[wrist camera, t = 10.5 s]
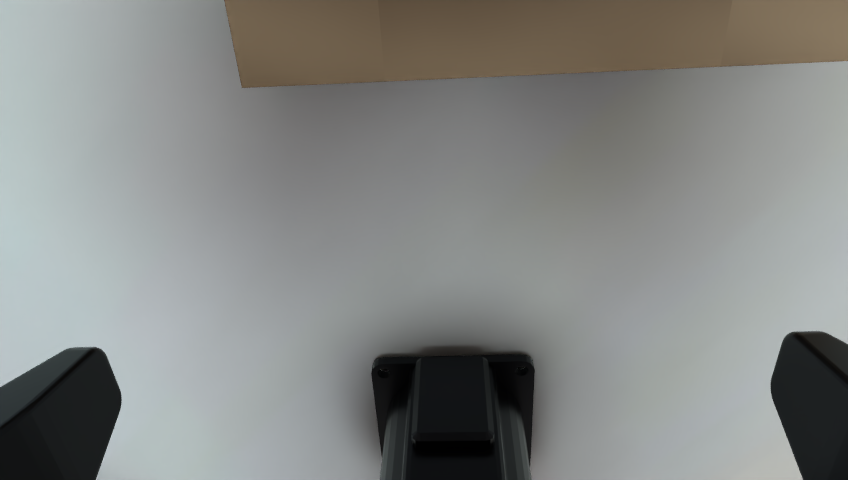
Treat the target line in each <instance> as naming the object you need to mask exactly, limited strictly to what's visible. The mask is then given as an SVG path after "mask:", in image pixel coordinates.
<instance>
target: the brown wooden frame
mask: <svg viewBox="0 0 848 480" xmlns="http://www.w3.org/2000/svg"><path fill="white" fill-rule="evenodd" d="M224 1H225V6H226V11H227V16H228V21H229V26H230V31H231V36H232V41H233V46H234V51H235V56H236V61H237V66H238V71H239V76H240V81H241V85H242V88H250V87H272V86H295V85H317V84H340V83H362V82H385V81H407V80H430V79H452V78H474V77H497V76H519V75H542V74H564V73H587V72H609V71H632V70H654V69H677V68H699V67H722V66H744V65H767V64H789V63H812V62H834V61H848V0H224Z"/></svg>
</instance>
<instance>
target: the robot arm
mask: <svg viewBox="0 0 848 480" xmlns="http://www.w3.org/2000/svg"><path fill="white" fill-rule="evenodd" d="M520 366H525V368H523V369H517V368H518V367H520ZM380 369H387V370H389V371H386V372H384V371H381V370H380ZM534 373H535V370H534V365H533V360H532V359H531V358H530V357H529V356H527V355H474V356H424V357H383V358H378V359H377V360H375V361H374V363H373V367H372V382H373V390H374V397H375V405H376V413H377V421H378V429H379V437H380V445H381V453H382V464H381V473H380V480H531V473H530V458H531V436H532V415H533V394H534ZM771 394H772V399H773V402H774V404H775V407H776V410H777V412H778V415H779V417H780V420H781V423H782V425H783V428H784V431H785V433H786V436H787V438H788V441H789V444H790V446H791V449H792V452H793V454H794V457H795V460H796V462H797V465H798V467H799V470H800V473H801V475H802V478H803V480H848V344H846V343H844V342H842V341H841V340H839V339H837V338H835V337H833V336H831V335H829V334H827V333H825V332H820V331H805V332H791V333H789V334H787V335H786V336H785V338H784V340H783V342H782V345H781V348H780V352H779V355H778V358H777V362H776V365H775V368H774V372H773V375H772V378H771ZM120 408H121V392H120V389H119V386H118V384H117V381H116V379H115V376H114V374H113V371H112V369H111V366H110V364H109V361H108V359H107V356H106V354H105V353H104V352H103V351H102V350H101V349H100V348H97V347H75V348H69V349H66V350H64V351H62V352H60V353H59V354H57V355H55V356H53V357H52V358H50V359H48V360H46V361H45V362H43V363H41V364H40V365H38V366H36V367H34V368H33V369H31V370H29V371H27V372H26V373H24V374H22V375H21V376H19V377H17V378H15V379H14V380H12V381H10V382H8V383H7V384H5V385H3V386H2V387H0V480H96V477H97V474H98V472H99V469H100V466H101V463H102V460H103V457H104V455H105V452H106V449H107V446H108V443H109V440H110V437H111V435H112V432H113V429H114V426H115V423H116V420H117V418H118V415H119V412H120Z"/></svg>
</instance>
